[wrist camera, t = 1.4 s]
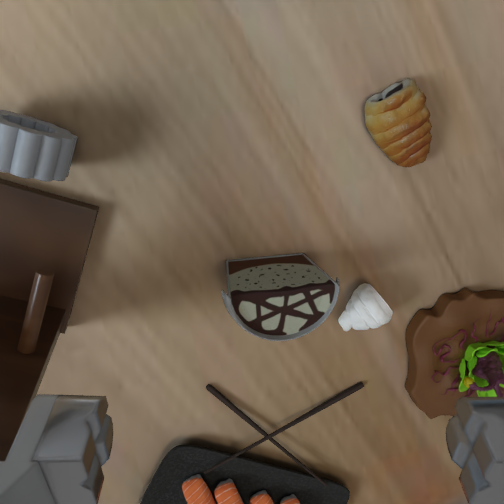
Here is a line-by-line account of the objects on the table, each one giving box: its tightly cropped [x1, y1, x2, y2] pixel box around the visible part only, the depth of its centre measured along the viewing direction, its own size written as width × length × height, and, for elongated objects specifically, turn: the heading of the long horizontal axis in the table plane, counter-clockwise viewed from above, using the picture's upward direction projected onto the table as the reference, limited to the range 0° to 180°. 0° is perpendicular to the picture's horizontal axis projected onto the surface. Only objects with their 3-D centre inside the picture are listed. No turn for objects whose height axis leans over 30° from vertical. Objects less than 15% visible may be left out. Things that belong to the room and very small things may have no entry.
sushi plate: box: [140, 382, 364, 504], centre depth 66 cm, size 29×30×4 cm
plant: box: [405, 288, 504, 419], centre depth 62 cm, size 20×20×11 cm
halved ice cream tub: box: [221, 253, 340, 341], centre depth 53 cm, size 12×6×10 cm, turn 92°
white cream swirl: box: [338, 283, 393, 331], centre depth 59 cm, size 6×6×5 cm
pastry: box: [365, 78, 432, 167], centre depth 52 cm, size 9×7×4 cm
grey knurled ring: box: [0, 110, 77, 181], centre depth 44 cm, size 4×8×8 cm, turn 70°
